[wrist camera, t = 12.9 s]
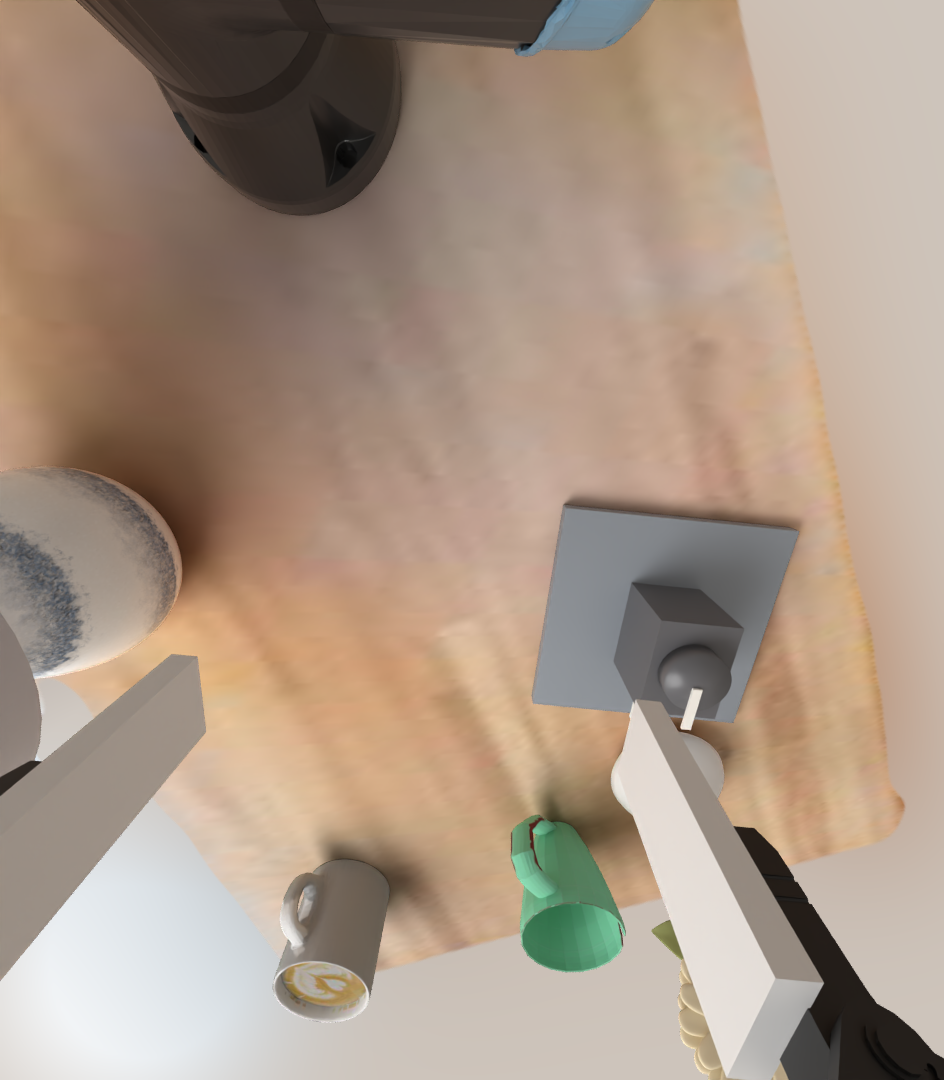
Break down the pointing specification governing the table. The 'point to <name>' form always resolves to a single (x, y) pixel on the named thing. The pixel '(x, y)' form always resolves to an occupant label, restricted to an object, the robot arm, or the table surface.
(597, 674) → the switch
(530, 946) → the mug
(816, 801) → the table surface
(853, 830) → the table surface
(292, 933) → the coffee mug
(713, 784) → the flower in vase
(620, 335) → the table surface
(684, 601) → the knob
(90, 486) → the lamp
